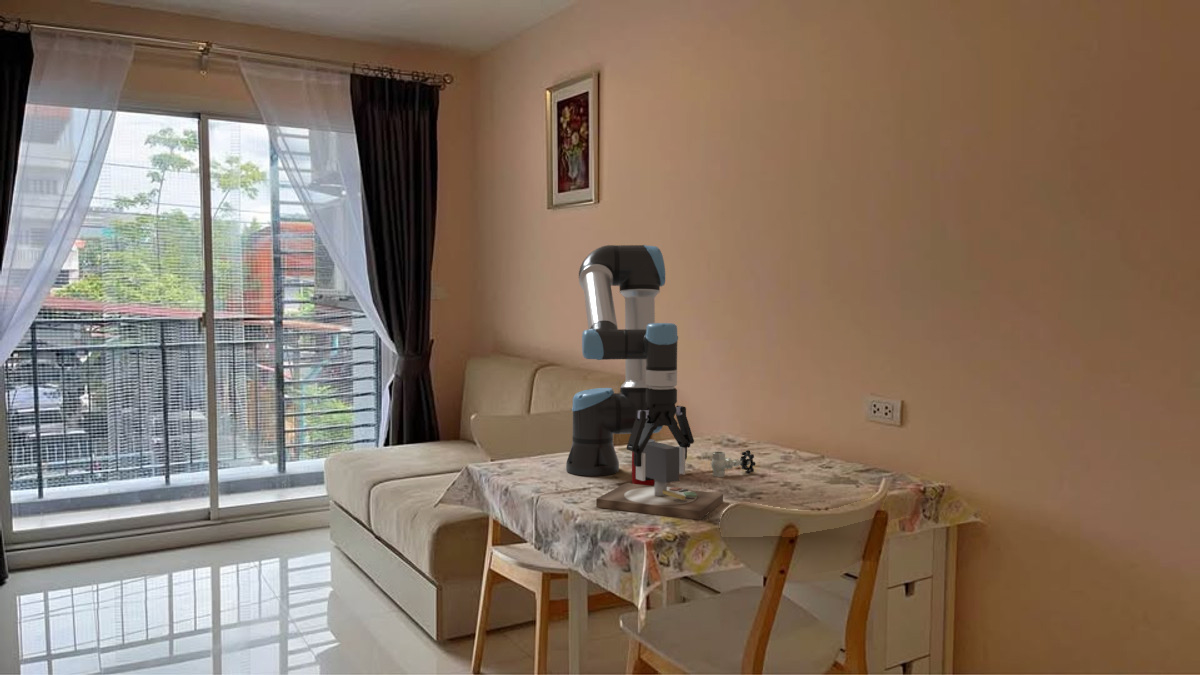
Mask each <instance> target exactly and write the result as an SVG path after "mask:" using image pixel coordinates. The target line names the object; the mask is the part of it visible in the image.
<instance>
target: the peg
mask: <svg viewBox="0 0 1200 675" xmlns="http://www.w3.org/2000/svg"><path fill="white" fill-rule="evenodd" d="M643 453H645V477H648V478H652V479H655V480H654V495H656V496H666V495H669V496H672V497H675V498H678V499H682V500H683V499H685V496H683V495H680V494H677V493H674V492H670V491H667V487H668V483H673V482H680V474H679V447H676V446H674V445H670V444H666V443H662V442H658V441H655V442H651V443H647V445H646V446H645V448H644V450H643Z"/></svg>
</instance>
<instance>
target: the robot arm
mask: <svg viewBox="0 0 1200 675" xmlns="http://www.w3.org/2000/svg"><path fill="white" fill-rule="evenodd" d="M663 256H664V255H663V253H662V251H661V249H660V248H659V247H658V246H654V245H645V244H642V245H639V244H638V245H637V244H636V245H633V244H630V245H628V244H627V245H625V244H624V245H623V244H621V245H620V244H619V245H616V244H614V245H613V244H608V245H603V246H600V247H598V248H596V249H594V250H593V251H592V252H590V253H589V254H588V255H587V256H586V257H585V258H584V260H583V261H582V263H581V264H580V268H579V270H578V281H579V282H578V284H579V286H580V287H581V289H582V290H583V294H584V303H585V311H586V312H585V313H586V321H587V329H584V330H583V331H582V335H581V350H582V352H581V353H582V357H583V358H584V359H586V360H596V361H602V360H603V361H604V360H608V361H610V360H625V369H624V370H625V381H624V382H623V383H622V384H621V386H620V388H619V389H620V391H619V392H615V391H614V389H613V388H611V387H598V388H591V389H585V390H581V391H578V392H576V393H575V394H574V396H573V397H572V408H571V412H572V432H571V433H572V439H571V440H572V443H571V447H570V451H569V453H568V457H567V460H566V462H565V463H566V464H565V467H566V468H565V471H566V472H567V473H569V474H572V475H577V476H587V477H588V476H589V477H591V476H592V477H599V476H608V475H614V474H616V473H619V471H620V462H619V458H618V455H617V452H616V450H615V447H614V435H626V434H627V435H628V434H629V435H630V436H629V439H628V441H627V444H626V450H627V451H630V452H631V453H632V452H633V453H634V466H636V479H638V480H641V481H645V453H642V452H643V450H644V448H645V446H646V445H647V443H648V441H649V439H651V437H652V435H653V434H657V433H660V431H661V430H662V429H663V427H664V426H666V427H667V428H668V429H669V431H670V434H672V437H673V438H674V439H675V441H676V443H677V444H678V445H676V446H675V447H679V475H686V460H687V459H688V448H691V445H693V444H694V441H695V439H694V437H693V433H692V431H691V428H690V427H691V426H690V424H689V420H688V418H687V407H686V406H684V405H676V404H677V403H678V389H677V388H676V387H677V385H678V340H679V335H678V327H677V326H678V325H677V324H675V323H668V322H656V320H655V319H656V318H655V317H656V316H655V314H656V313H655V302H656V301H655V299H656V297H657V295H658V294H659V293H660V292H661V290H660V287H663V286H665V284H666V267H665V260H664V257H663ZM612 286H613V287H614V286H615V287H619V293H620V294H621V295H622V296H623V297H624V329H619V328H618V322H617V315H616V311H615V304H614V297H613V292H612V291H613V290H612Z"/></svg>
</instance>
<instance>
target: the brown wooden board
mask: <svg viewBox="0 0 1200 675" xmlns="http://www.w3.org/2000/svg"><path fill="white" fill-rule="evenodd" d="M667 491H670V492H674V493H677V494H680V495H683V496H685V499H683V500H682V499H678V498H675V497H672V496H669V495H666V496H656V495H654V486H648V485H639V484H633V483H628V482H625V483H623V484H621V485H620V486H618V487H617V486H616V488H614V489H612V490H610V491H608V492H607V493H605V494H603V495H600V496H599V497H597V498H596V499H595V500H596V502H595V504H596V505H595V507H596V508H601V509H610V510H618V511H619V510H620V511H626V512H635V513H643V514H649V515H650V514H651V515H657V516H667V517H675V518H682V519H689V520H690V519H691V520H698V521H699V520H702V519H703V518H704V517H706V516H707V515H708V514H709V513H711V512H712V511H713V510H715V509H716V508H718V506H720V505H721V504H722V503H723V502H724V493H721V492H711V491H702V490H695V489H694V490H693V489H687V488H685V489H684V488H682V487H679V486H673V487H670V486H667ZM715 507H716V508H715ZM712 509H713V510H712ZM711 510H712V511H711ZM710 511H711V512H710ZM708 512H709V513H708ZM707 513H708V514H707ZM706 514H707V515H706ZM705 515H706V516H705Z"/></svg>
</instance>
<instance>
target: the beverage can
mask: <svg viewBox="0 0 1200 675" xmlns="http://www.w3.org/2000/svg"><path fill="white" fill-rule="evenodd" d="M651 442H656V440H655V439H654V438H653V439H651V438H650V439H649V441H648V443H651ZM642 453H643V452H642ZM654 480H655V479H652V478H648V477H645V481H641V480H638V479H636V466H634V453H633V452H632V451H631V484H639V485H648V486H654Z"/></svg>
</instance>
